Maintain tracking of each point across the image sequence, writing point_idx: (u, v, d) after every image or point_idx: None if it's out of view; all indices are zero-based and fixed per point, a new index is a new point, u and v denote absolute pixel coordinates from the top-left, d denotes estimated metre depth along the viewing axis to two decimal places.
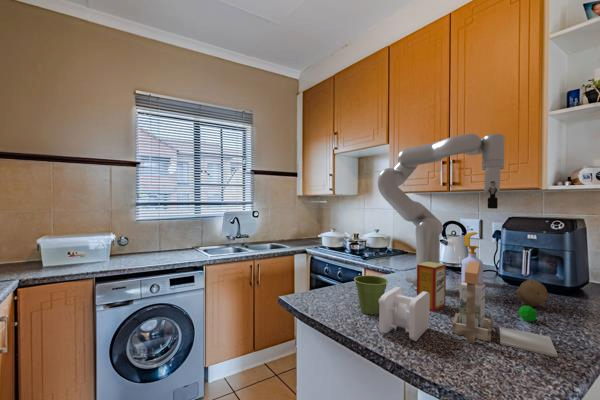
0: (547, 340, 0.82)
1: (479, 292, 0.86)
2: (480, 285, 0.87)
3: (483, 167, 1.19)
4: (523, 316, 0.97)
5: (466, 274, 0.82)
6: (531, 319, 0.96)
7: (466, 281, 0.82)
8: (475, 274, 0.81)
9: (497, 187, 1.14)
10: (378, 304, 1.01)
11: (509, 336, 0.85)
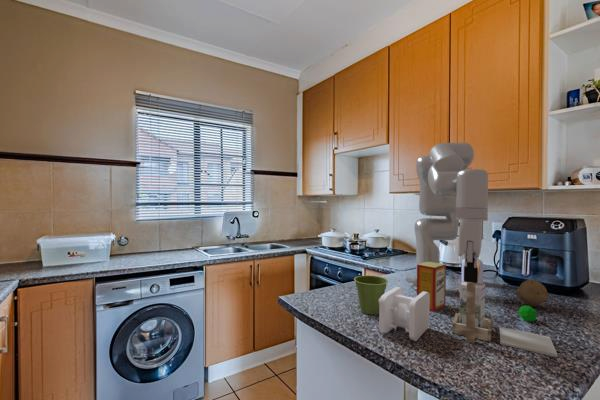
0: (547, 340, 0.82)
1: (479, 292, 0.86)
2: (480, 285, 0.87)
3: (457, 217, 0.81)
4: (523, 316, 0.97)
5: None
6: (531, 319, 0.96)
7: None
8: None
9: (476, 250, 0.76)
10: (378, 304, 1.01)
11: (509, 336, 0.85)
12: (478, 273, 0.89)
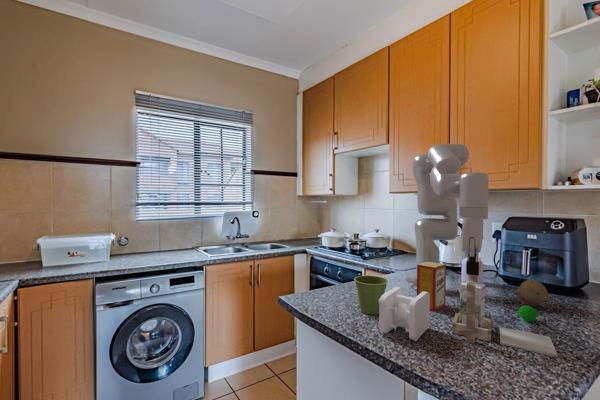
0: (547, 340, 0.82)
1: (479, 292, 0.86)
2: (480, 285, 0.87)
3: (460, 215, 0.89)
4: (523, 316, 0.97)
5: None
6: (531, 319, 0.96)
7: None
8: None
9: (478, 246, 0.84)
10: (378, 304, 1.01)
11: (509, 336, 0.85)
12: (479, 267, 0.97)
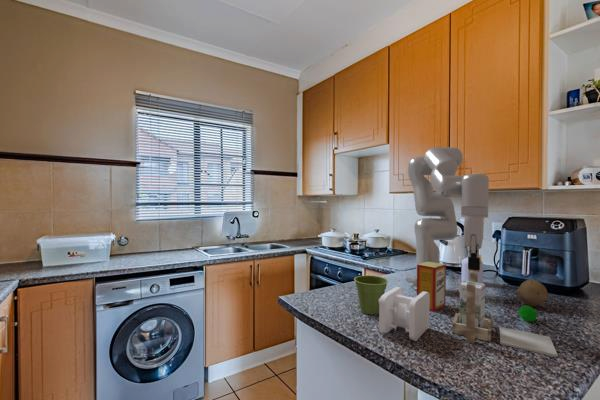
0: (547, 340, 0.82)
1: (479, 292, 0.86)
2: (480, 285, 0.87)
3: (462, 214, 0.95)
4: (523, 316, 0.97)
5: None
6: (531, 319, 0.96)
7: None
8: None
9: (479, 242, 0.90)
10: (378, 304, 1.01)
11: (509, 336, 0.85)
12: None
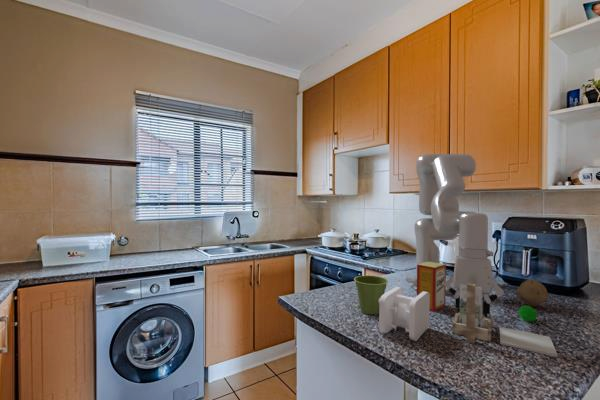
0: (547, 340, 0.82)
1: (479, 292, 0.86)
2: None
3: None
4: (523, 316, 0.97)
5: None
6: (531, 319, 0.96)
7: None
8: None
9: (453, 281, 0.91)
10: (378, 304, 1.01)
11: (509, 336, 0.85)
12: None
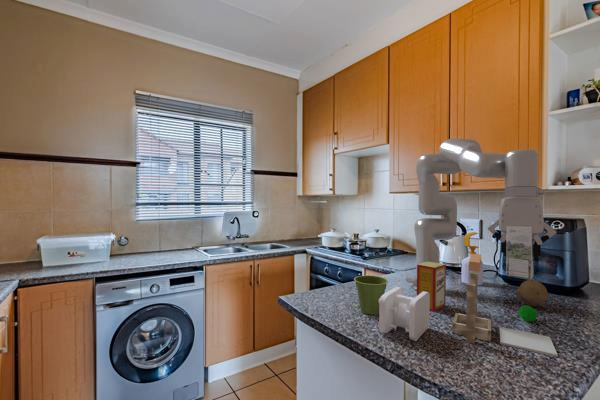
0: (547, 340, 0.82)
1: (529, 232, 0.80)
2: None
3: None
4: (523, 316, 0.97)
5: (470, 263, 0.98)
6: (531, 319, 0.96)
7: (470, 269, 0.98)
8: (478, 263, 0.96)
9: (499, 224, 0.85)
10: (378, 304, 1.01)
11: (509, 336, 0.85)
12: None
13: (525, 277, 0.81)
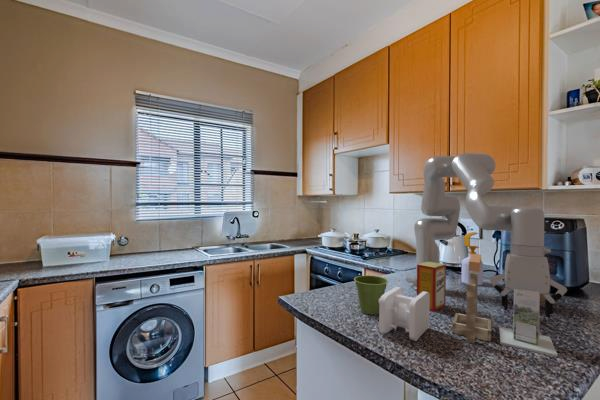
0: (547, 340, 0.82)
1: (537, 297, 0.80)
2: None
3: None
4: None
5: (470, 263, 0.98)
6: None
7: (470, 269, 0.98)
8: (478, 263, 0.96)
9: (505, 281, 0.85)
10: (378, 304, 1.01)
11: (509, 336, 0.85)
12: None
13: (532, 342, 0.80)
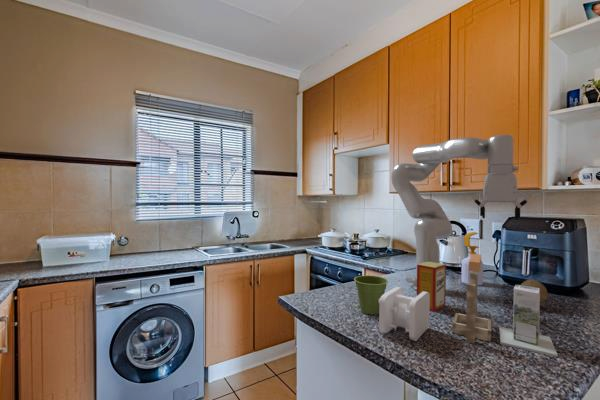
0: (547, 340, 0.82)
1: (537, 297, 0.79)
2: (536, 290, 0.81)
3: None
4: None
5: (470, 263, 0.98)
6: None
7: (470, 269, 0.98)
8: (478, 263, 0.96)
9: (483, 195, 1.06)
10: (378, 304, 1.01)
11: (509, 336, 0.85)
12: None
13: (532, 342, 0.80)
